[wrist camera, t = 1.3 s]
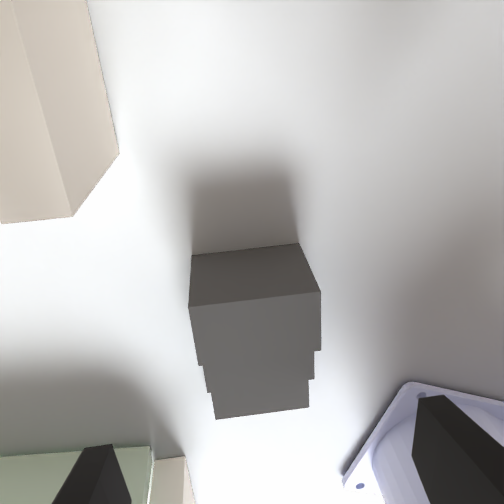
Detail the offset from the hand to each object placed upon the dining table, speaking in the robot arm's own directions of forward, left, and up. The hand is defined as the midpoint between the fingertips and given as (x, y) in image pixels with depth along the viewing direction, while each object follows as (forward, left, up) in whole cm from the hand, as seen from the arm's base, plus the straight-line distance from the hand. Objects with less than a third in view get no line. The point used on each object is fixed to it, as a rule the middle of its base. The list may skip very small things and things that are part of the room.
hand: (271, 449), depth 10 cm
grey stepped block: (-1, +3, -9) cm, 9 cm away
